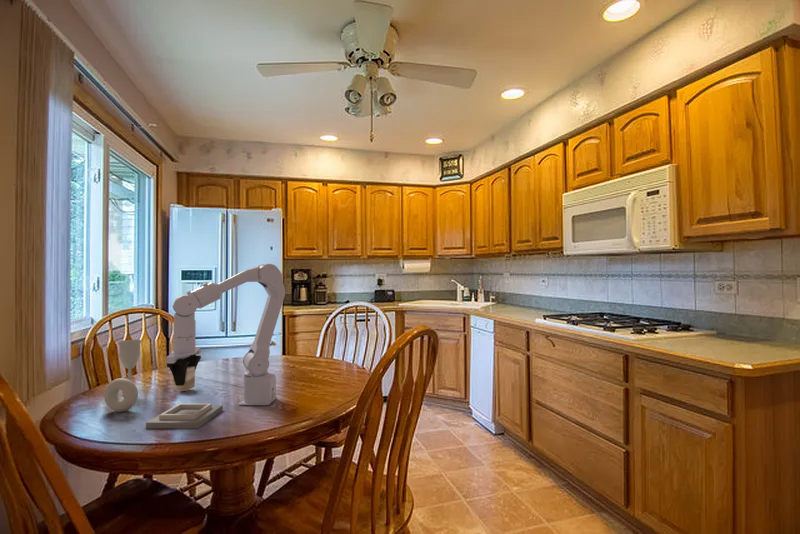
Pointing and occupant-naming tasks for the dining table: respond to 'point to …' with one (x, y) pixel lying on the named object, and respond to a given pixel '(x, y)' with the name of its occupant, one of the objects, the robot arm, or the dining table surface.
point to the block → (187, 380)
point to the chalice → (129, 355)
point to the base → (185, 416)
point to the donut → (129, 392)
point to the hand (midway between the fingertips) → (184, 383)
